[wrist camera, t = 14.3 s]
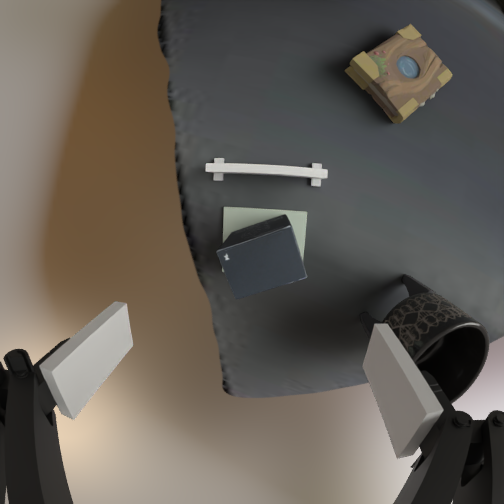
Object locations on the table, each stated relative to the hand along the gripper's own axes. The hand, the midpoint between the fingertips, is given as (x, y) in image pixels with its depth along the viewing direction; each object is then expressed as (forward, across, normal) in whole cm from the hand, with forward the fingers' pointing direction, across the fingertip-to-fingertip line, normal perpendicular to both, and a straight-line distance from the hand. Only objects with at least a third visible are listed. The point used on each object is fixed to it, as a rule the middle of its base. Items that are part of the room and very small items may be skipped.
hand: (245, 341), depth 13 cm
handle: (+25, 0, +9) cm, 26 cm away
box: (+24, 0, 0) cm, 25 cm away
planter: (+25, +21, -9) cm, 34 cm away
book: (+26, +19, +27) cm, 41 cm away
